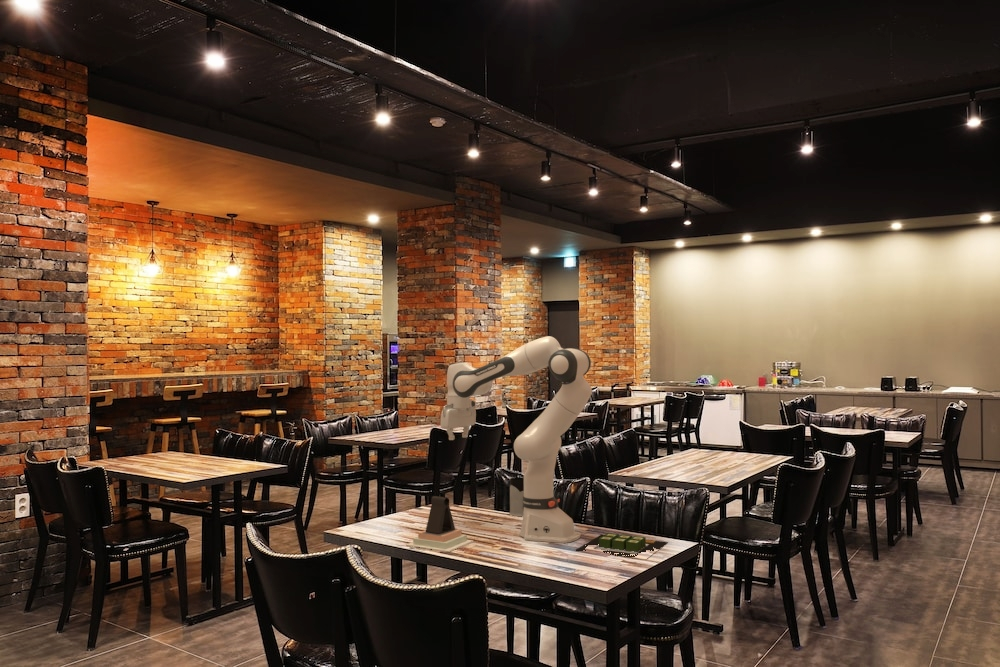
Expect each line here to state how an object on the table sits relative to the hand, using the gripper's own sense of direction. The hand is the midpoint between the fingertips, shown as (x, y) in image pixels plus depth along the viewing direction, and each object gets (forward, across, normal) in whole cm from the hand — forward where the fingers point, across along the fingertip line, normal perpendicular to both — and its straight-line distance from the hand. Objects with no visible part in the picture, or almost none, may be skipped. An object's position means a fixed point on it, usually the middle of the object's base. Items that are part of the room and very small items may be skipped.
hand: (458, 438), depth 290 cm
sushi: (+35, +1, -67) cm, 76 cm away
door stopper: (+30, -26, -9) cm, 40 cm away
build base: (+34, -26, -9) cm, 44 cm away
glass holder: (+34, +32, -12) cm, 48 cm away
